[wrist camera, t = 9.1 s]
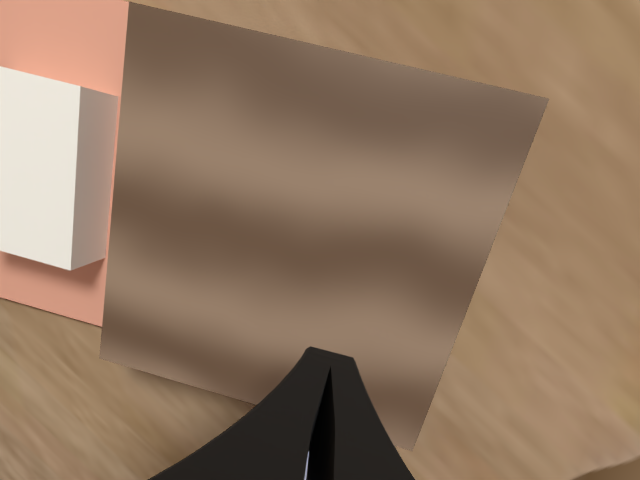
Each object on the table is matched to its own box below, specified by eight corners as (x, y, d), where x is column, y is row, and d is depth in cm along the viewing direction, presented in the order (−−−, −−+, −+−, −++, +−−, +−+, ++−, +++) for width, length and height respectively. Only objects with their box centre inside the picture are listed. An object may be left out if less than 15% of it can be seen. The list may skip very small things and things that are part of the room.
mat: (132, 331, 21) (127, 334, 20) (-13, 289, 21) (-20, 291, 21) (166, 13, 16) (161, 9, 16) (-18, -30, 17) (-27, -34, 16)
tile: (-35, 240, 17) (11, 231, 20) (70, 270, 17) (105, 257, 19) (-41, 56, 15) (12, 70, 17) (80, 86, 15) (118, 96, 17)
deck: (401, 394, 20) (412, 451, 16) (148, 321, 20) (99, 358, 17) (501, 114, 16) (549, 98, 12) (183, 39, 16) (128, 1, 13)
